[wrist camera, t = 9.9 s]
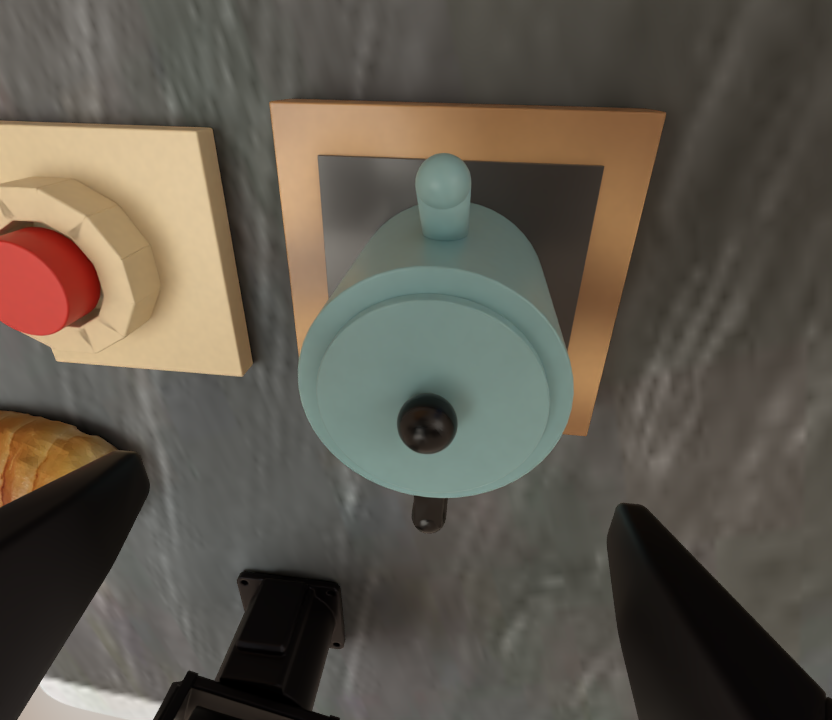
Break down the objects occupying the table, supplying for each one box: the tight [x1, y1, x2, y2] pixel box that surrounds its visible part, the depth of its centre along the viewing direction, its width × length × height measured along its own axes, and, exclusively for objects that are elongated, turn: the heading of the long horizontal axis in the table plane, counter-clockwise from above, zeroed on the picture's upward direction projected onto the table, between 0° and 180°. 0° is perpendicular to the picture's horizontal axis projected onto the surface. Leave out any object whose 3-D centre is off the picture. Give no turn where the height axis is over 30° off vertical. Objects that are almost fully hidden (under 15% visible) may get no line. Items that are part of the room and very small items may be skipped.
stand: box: [269, 99, 666, 436], centre depth 19 cm, size 12×12×2 cm
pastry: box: [0, 411, 117, 507], centre depth 26 cm, size 9×7×4 cm
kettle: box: [298, 153, 574, 534], centre depth 14 cm, size 11×7×8 cm, turn 179°
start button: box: [0, 227, 100, 336], centre depth 18 cm, size 4×4×2 cm
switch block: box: [0, 121, 253, 377], centre depth 19 cm, size 10×9×3 cm
